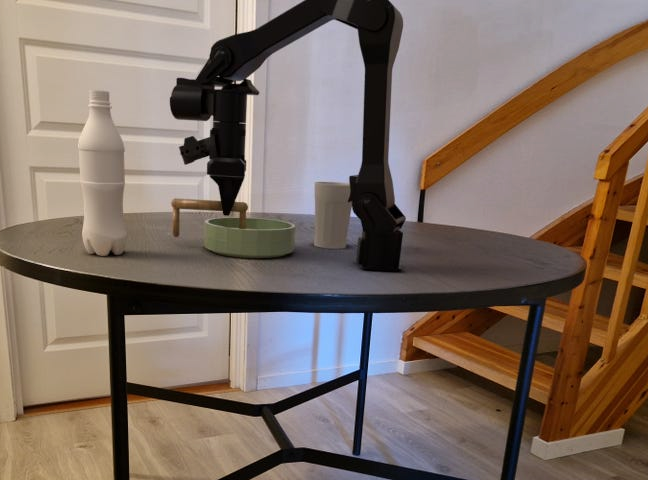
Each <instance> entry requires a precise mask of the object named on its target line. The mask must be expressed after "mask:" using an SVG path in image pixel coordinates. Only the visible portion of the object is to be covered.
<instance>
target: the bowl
mask: <svg viewBox="0 0 648 480" xmlns="http://www.w3.org/2000/svg"><path fill="white" fill-rule="evenodd" d="M246 228H256V229H263V230H256V229H239V216H224V217H223V216H222V217H213V218H209V219H208V218H207V219H205V221H204V239H203V241H204V242H203V243H204V244H203V245H204V246H203V247H204V248H206V249H207V250H210V251H211V252H212V253H215V254H218V255H221V256H225V257H232V258H245V259H273V258H280V257H284V256H286V255H287V254H291V253H293V252H294V251H295V240H296V239H295V237H296V225H295V224H294V223H293V222H292V223H291V222H288V221H284V220H279V219H271V218H262V217H261V218H260V217H247V216H246Z"/></svg>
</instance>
